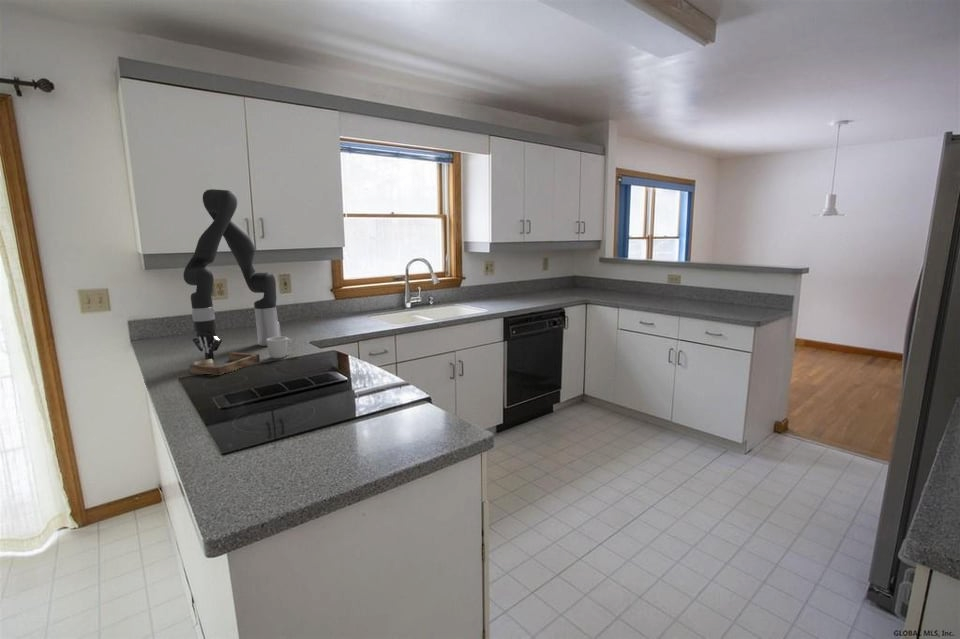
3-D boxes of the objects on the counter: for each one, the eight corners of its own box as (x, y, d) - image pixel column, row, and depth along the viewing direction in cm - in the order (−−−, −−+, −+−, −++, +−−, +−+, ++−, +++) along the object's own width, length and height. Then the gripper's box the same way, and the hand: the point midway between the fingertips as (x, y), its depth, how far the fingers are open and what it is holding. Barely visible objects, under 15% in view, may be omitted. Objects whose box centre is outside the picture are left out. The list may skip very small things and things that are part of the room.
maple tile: (212, 366, 190) (211, 358, 190) (214, 369, 185) (213, 362, 185) (195, 368, 187) (194, 361, 187) (196, 372, 182) (195, 364, 182)
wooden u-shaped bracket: (232, 359, 200) (231, 352, 199) (260, 361, 195) (259, 354, 195) (190, 373, 181) (189, 365, 181) (219, 376, 177) (218, 368, 176)
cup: (286, 352, 209) (284, 334, 208) (298, 354, 205) (296, 336, 204) (264, 358, 200) (262, 339, 199) (276, 360, 196) (274, 341, 195)
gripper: (225, 317, 189) (230, 360, 192) (199, 316, 193) (205, 358, 197) (209, 321, 182) (215, 365, 185) (182, 319, 186) (189, 363, 190)
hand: (210, 361), depth 191 cm, fingers closed
